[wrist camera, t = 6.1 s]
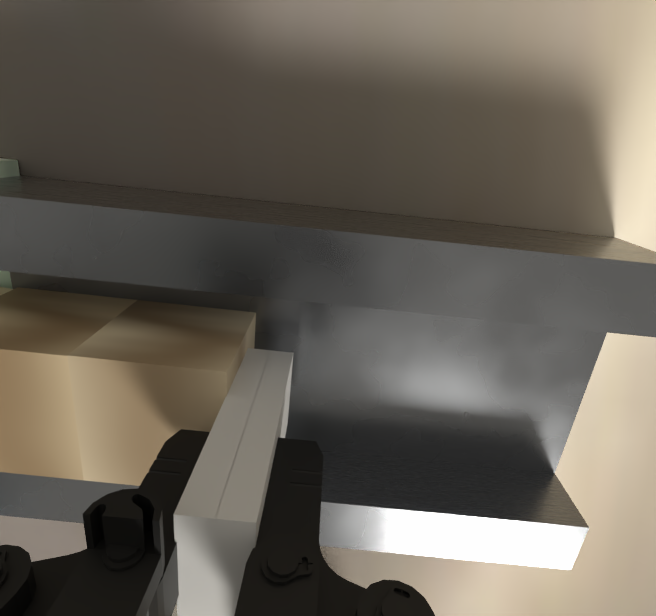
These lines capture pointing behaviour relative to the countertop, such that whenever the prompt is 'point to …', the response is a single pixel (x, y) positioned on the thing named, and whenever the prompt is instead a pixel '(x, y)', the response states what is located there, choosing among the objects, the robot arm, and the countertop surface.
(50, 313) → the tan wooden block
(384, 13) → the countertop surface
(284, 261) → the slot channel
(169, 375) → the tan cubic piece
